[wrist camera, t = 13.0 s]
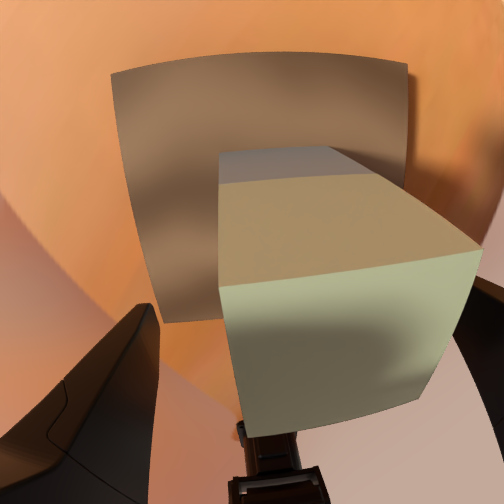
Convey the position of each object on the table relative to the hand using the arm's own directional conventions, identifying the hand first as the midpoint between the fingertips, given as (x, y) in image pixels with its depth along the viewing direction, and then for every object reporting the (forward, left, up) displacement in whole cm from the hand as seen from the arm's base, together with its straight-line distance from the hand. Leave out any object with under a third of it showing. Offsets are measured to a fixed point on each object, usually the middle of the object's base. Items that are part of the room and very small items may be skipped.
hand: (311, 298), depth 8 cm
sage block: (0, 0, -2) cm, 2 cm away
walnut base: (0, 0, -9) cm, 9 cm away
